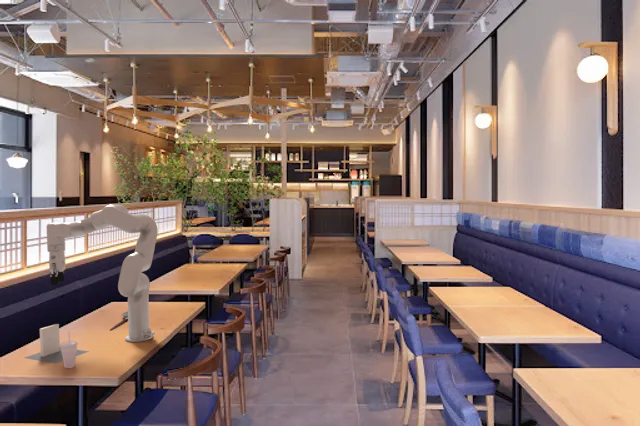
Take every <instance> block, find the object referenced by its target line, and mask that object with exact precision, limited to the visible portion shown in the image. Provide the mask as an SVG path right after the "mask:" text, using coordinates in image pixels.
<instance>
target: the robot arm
mask: <svg viewBox="0 0 640 426" xmlns="http://www.w3.org/2000/svg"><path fill="white" fill-rule="evenodd" d="M109 226H111V227H114V228H117V229H119V230H121V231H122V232H125V233H128V234H138V233H139V237H138V238H137V241H136V243H135V249H134V252H133V253H131V254H128V255H127V256H126V257H125V258H124V259H123V262H122V265H121V268H120V273H119V278H118V284H117V288H118V289H117V290H118V292H119V293H120V295H121V296H123V297H125V298H127V312H128V320H127V323H128V324H127V325H128V327H127V328H128V335H126V336H125V341H126V342H129V343H137V342H138V343H139V342H145V341H149V340H150V339H153V337H154V336H155V335H156V331H152V328H151V327H150V309H149V307H150V306H149V305H150V304H149V301H150V300H149V298H150V297H149V295H150V278H149V276H148V275H146V274H145V273H143V272H146V271H148V270H149V269H150V268H151V266H152V263H153V259H154V258H153V257H154V253H155V247H156V243H157V239H158V233H159V231H158V229H159V228H158V225H157V223H156V221H155V220H154V219H153V218H152V217H151V216H149V215H147V214H142V213H141V214H140V213H139V214H132V213H129V209H128V208H127V207H126V206H125V205H122V204H109V205H106V206H103V208H102V209H100V210H98V211H97V210H96V211H94V212H92V213H91V214H90V216H89V217H87V218H84V219H81V220H77V221H70V222H69V221H68V222H63V223H62V222H51V223H47V224H46V247H47V252H48V253H49V255H48V256H49V257H48V258H49V259H48V262H49V263H48V264H49V265H48V266H49V273H50V286H57V285H58V286H59V283H60V282H64V281H65V270H66V268H67V265H66V256H65V251H66V244H65V243H66V242H65V241H66V240H65V239H70V238H77V237H83V236H85V235H88V234H91V233H93V232H96V231H98V230H102V229H104V228H108V227H109Z"/></svg>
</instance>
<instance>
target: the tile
mask: <svg viewBox="0 0 640 426" xmlns="http://www.w3.org/2000/svg"><path fill="white" fill-rule="evenodd" d="M60 344H61V343H60V324H59V323H55V324H52V325H48V326H44V327H41V328H39V346H40V348H39V349H40V352H41V356H43V357H44V356H47V355H50V354H53V353H55V352H58V351H60Z"/></svg>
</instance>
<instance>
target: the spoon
mask: <svg viewBox="0 0 640 426" xmlns="http://www.w3.org/2000/svg"><path fill="white" fill-rule="evenodd" d="M121 317H124V319H123V320H121V321H120V322H118V323H117V324H115V325H113V326H112V328H110V329H109V331H113V330H115V329H117V328H119V327H120V326H121V324H122V325H123V324H124V323H125V322H126V321H128V311H125V312H122V313H121ZM118 326H119V327H118ZM116 327H117V328H116Z"/></svg>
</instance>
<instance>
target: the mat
mask: <svg viewBox="0 0 640 426" xmlns="http://www.w3.org/2000/svg"><path fill="white" fill-rule="evenodd" d="M88 352H89V351H87V350H83V349H82V350H81V349H76V357H78V356H80V355H83V354H86V353H88ZM24 359H28V360H35V361H40V362H46V363H52V364H59V363H61V362H64V361H63V356H62V350H61V347H60V351H58V352H55V353H53V354H50V355H47V356H44V357H43V356H41V351H40V352H38V353H33V354H31V355H28V356H26V357H25V356H24Z"/></svg>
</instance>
